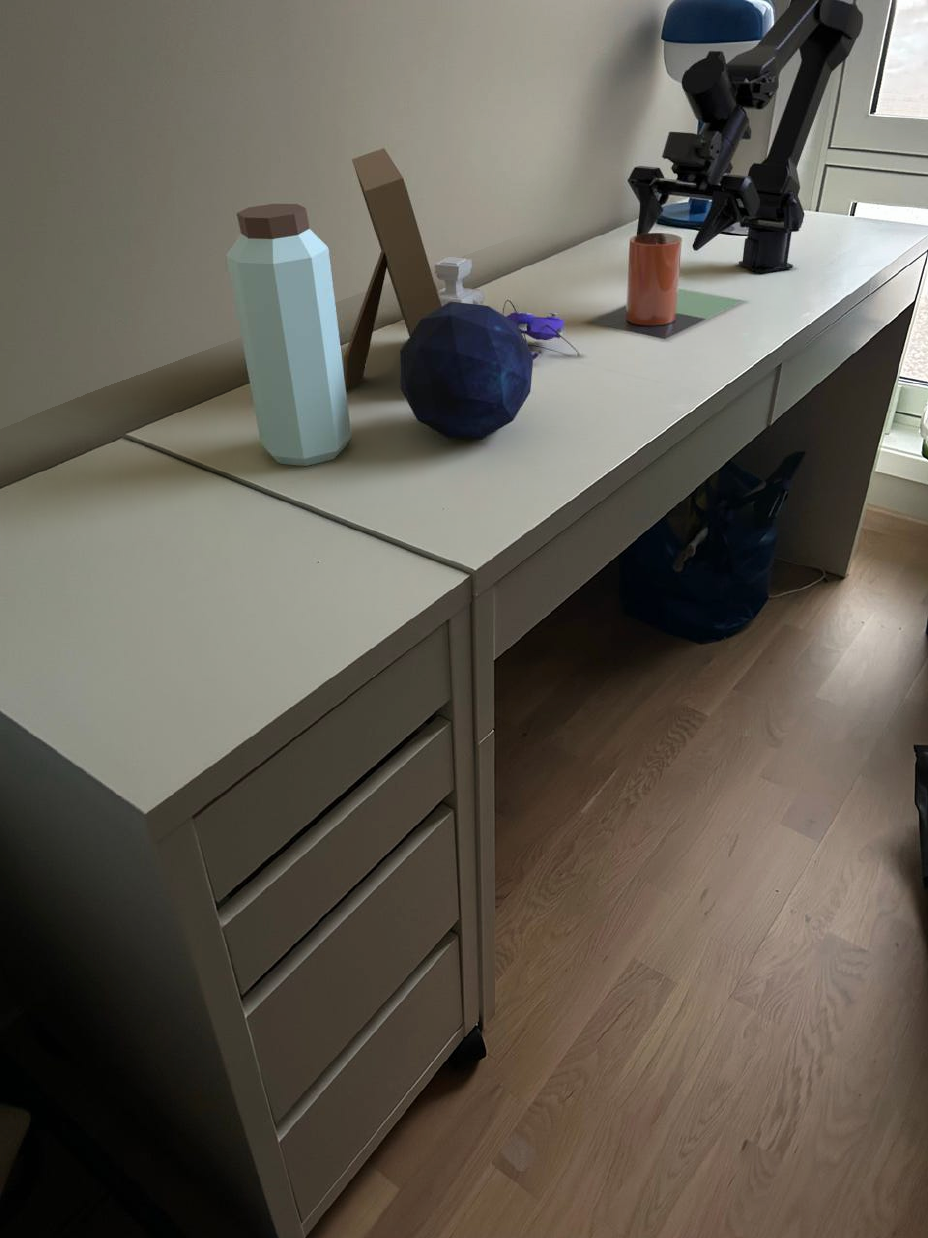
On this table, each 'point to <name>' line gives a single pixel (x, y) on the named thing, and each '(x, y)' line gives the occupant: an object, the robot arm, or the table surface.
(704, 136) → the robot arm
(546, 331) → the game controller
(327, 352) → the water bottle
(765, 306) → the table surface
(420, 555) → the table surface
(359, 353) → the photo frame
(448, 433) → the decorative orb
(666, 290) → the tumbler
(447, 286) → the stamp
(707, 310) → the desk mat
